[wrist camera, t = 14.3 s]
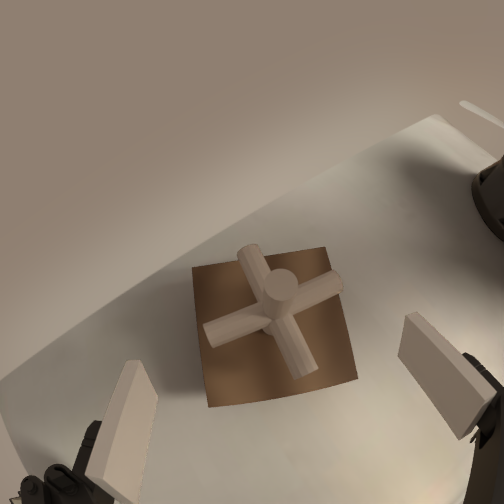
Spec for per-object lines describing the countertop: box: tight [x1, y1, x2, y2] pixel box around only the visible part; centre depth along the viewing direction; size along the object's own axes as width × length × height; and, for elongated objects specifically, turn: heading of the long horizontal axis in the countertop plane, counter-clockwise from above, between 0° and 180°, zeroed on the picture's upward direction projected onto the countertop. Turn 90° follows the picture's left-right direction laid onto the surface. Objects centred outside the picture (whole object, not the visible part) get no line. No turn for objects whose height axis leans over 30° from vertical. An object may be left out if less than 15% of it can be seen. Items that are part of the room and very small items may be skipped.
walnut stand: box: [192, 247, 358, 407], centre depth 26 cm, size 13×13×5 cm
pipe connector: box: [203, 244, 343, 380], centre depth 19 cm, size 10×10×10 cm
